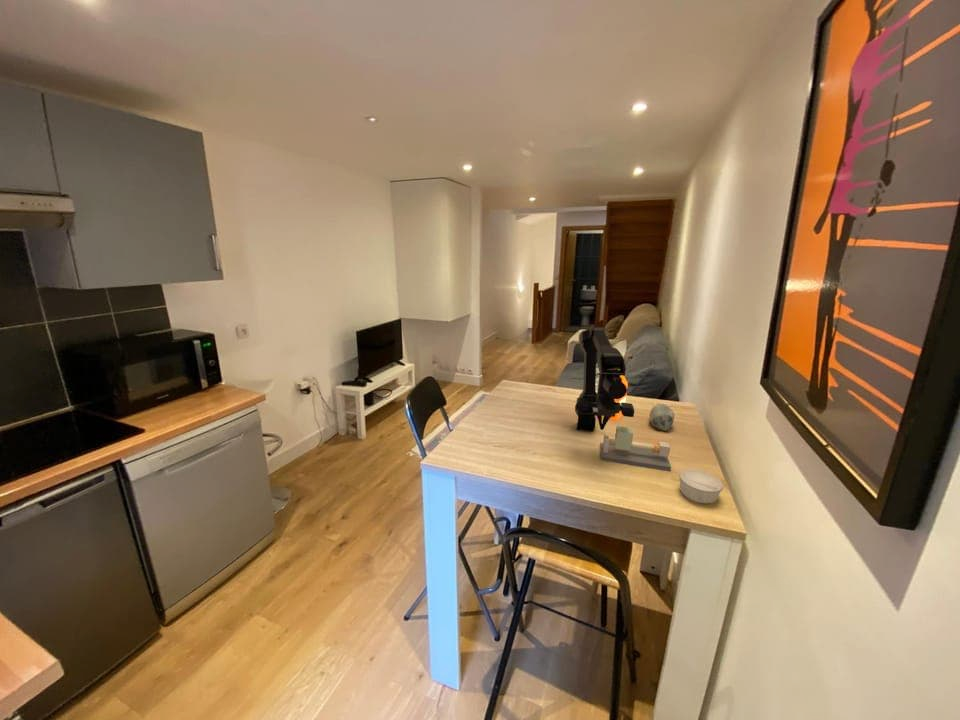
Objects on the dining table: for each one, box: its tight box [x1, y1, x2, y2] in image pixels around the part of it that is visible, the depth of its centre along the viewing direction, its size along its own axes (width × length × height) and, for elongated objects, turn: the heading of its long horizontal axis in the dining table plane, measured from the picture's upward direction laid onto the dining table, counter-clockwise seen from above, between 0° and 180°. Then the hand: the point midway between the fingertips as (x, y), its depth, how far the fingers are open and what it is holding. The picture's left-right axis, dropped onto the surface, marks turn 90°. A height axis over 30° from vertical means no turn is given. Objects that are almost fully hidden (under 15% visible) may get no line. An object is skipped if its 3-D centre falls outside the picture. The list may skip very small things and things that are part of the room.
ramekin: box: [679, 468, 724, 505], centre depth 112 cm, size 11×11×5 cm
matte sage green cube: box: [614, 425, 634, 451], centre depth 130 cm, size 5×5×6 cm
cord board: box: [599, 433, 672, 472], centre depth 130 cm, size 22×10×7 cm, turn 74°
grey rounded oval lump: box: [648, 403, 675, 432], centre depth 155 cm, size 14×10×10 cm
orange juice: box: [602, 376, 629, 422], centre depth 162 cm, size 8×9×20 cm
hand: (601, 429), depth 132 cm, fingers closed
